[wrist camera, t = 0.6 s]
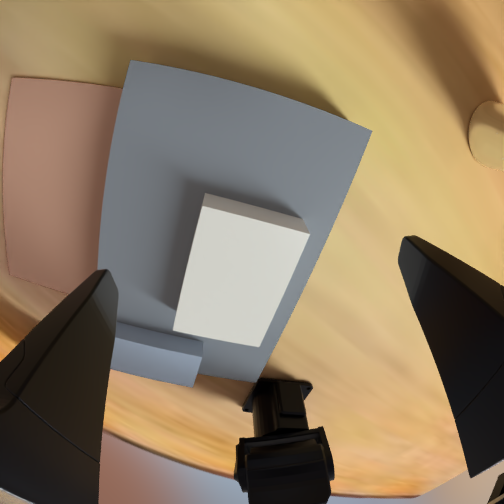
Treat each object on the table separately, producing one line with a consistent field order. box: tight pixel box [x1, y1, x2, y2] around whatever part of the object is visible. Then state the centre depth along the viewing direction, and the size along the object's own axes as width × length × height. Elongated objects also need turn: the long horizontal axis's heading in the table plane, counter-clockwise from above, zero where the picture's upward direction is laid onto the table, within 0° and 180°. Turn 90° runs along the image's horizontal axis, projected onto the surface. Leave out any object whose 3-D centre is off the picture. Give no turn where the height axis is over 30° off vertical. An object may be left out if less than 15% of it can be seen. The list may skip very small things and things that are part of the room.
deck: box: [97, 60, 372, 383], centre depth 22 cm, size 22×14×4 cm, turn 162°
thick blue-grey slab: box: [110, 322, 203, 387], centre depth 24 cm, size 4×7×2 cm, turn 72°
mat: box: [3, 77, 123, 294], centre depth 21 cm, size 18×10×1 cm, turn 162°
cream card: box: [173, 193, 310, 347], centre depth 20 cm, size 9×6×2 cm, turn 162°
